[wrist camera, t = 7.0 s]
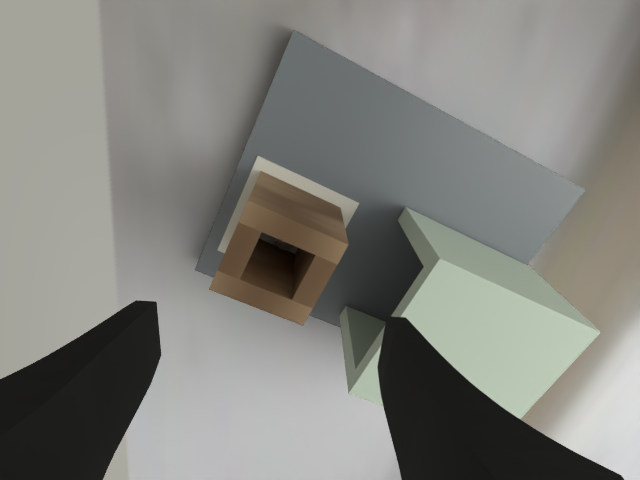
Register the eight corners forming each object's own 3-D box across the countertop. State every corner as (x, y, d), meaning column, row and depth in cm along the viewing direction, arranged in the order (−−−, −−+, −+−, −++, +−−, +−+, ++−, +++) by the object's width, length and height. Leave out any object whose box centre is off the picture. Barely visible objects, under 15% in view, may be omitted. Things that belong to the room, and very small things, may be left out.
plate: (572, 183, 22) (587, 190, 20) (440, 356, 26) (446, 370, 25) (294, 31, 18) (293, 29, 17) (200, 260, 23) (194, 270, 22)
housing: (529, 266, 22) (600, 332, 17) (454, 362, 25) (494, 446, 19) (405, 207, 20) (440, 258, 15) (339, 316, 23) (348, 393, 18)
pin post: (299, 222, 21) (298, 236, 19) (291, 238, 21) (290, 253, 20) (282, 214, 21) (279, 227, 19) (274, 230, 21) (271, 245, 19)
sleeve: (340, 207, 20) (348, 244, 16) (304, 275, 22) (303, 325, 18) (261, 170, 20) (247, 200, 15) (228, 244, 21) (208, 289, 17)
